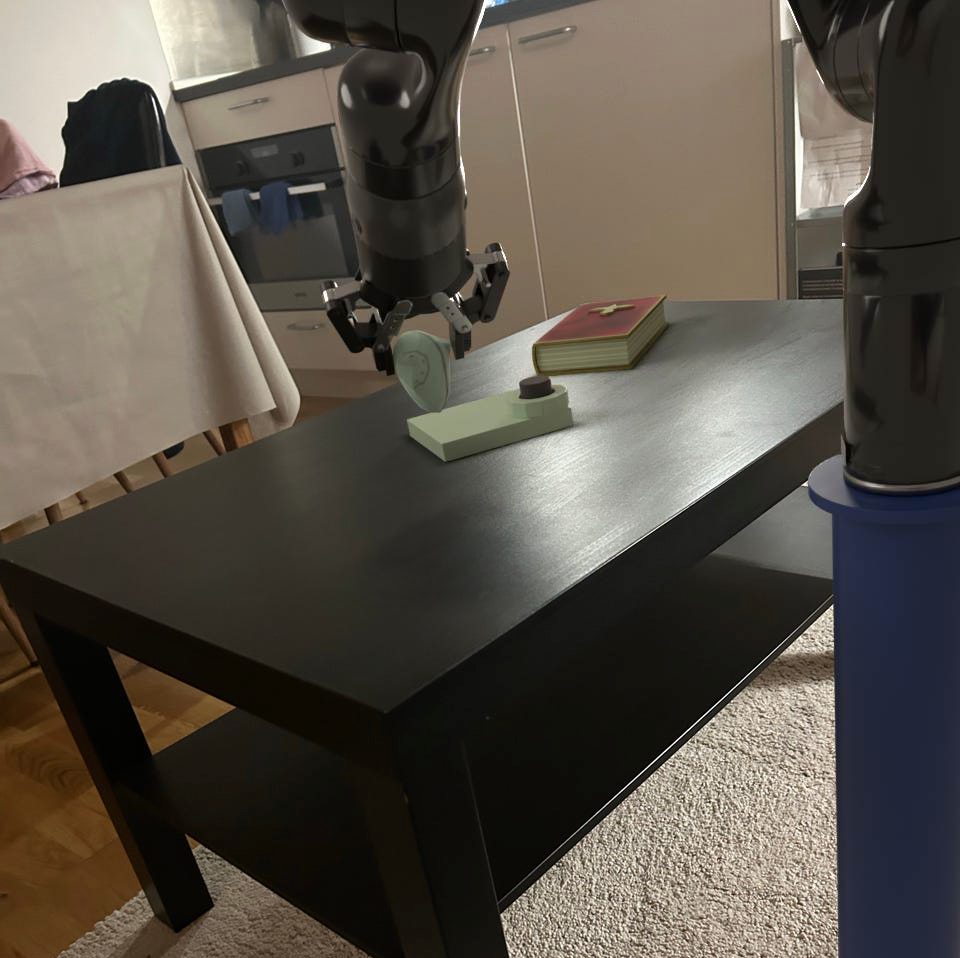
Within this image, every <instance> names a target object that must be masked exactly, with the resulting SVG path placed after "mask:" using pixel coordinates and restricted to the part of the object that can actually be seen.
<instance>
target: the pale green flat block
mask: <svg viewBox="0 0 960 958" xmlns="http://www.w3.org/2000/svg"><path fill="white" fill-rule="evenodd" d="M551 385H552V392H553V394H551V395H549V396H545V397H542V398H537V399H521V393H520V388H516V389H513V390H509V391H505V392H502V393H498V394H495V395H491V396H488V397H487V396H486V397H484V398H480V399H477V400H473V401H469V402H465V403H462V404H458V405H455V406H451V407H448V408H443V410H442V411H441V412H440V413H429V412H428V413H425V414H422V415H418V416H415V417H410V418H407V419H406V422H407V423H406V424H407V428H408V432H409V436H410V437H411V438H412V439H414V440H415V441H416V442H418V443H419V444H420V445H422V446H423V447H425V448H426V449H427V450H428V451H430V452H431V453H432V454H434V455H435V456H437V457H438V458H439V459H441V460H442V461H443V462H444V463H447V462H450V461H451V462H452V461H454V460H458V459H461V458H465V457H469V456H472V455H475V454H478V453H482V452H486V451H489V450H493V449H496V448H499V447H503V446H508V445H510V444H514V443H517V442H520V441H524V440H527V439H531V438H534V437H538V436H541V435H544V434H548V433H551V432H555V431H559V430H562V429H565V428H569V427H573V426H574V421H573V420H574V419H573V412H572V407H571V406H569V404H570V397H569V392H568V391H569V390H568V388H567V386H564V385H562V384H551Z"/></svg>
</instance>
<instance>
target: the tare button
mask: <svg viewBox="0 0 960 958" xmlns="http://www.w3.org/2000/svg"><path fill="white" fill-rule="evenodd" d="M552 385H553V384H552V379H551V376H550V375H548V376H538V375H534V376H529V377H525V378H523V379H521V380H520V381H519V382H518V386H519V389H520V393H521V399H537V398H542V397H545V396H549V395H551V394H553V392H552Z"/></svg>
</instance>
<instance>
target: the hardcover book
mask: <svg viewBox="0 0 960 958" xmlns="http://www.w3.org/2000/svg"><path fill="white" fill-rule="evenodd" d="M666 299H667V294H658V295H649V296H648V295H647V296H640V297H632V298H622V299H612V300H605V301H604V300H601V301H594V302H586V303H581V304H579V305H578V306H577V307H576V308H575V309H573V310H572V311H571V312H570V313H569V314H567V315H566V316H565V317H564V318H563V319H561V320H560V321H559V322H558V323H556V324H555V325H554V326H553V327H552V328H551V329H550V330H547V332H545V334H543V335H542V336H540V338H538V339H537V340H536V341H535V342H533V344H532V347H531V358H532V360H531V361H532V365H533V368H534V372H535V374H536V376H559V375H561V376H562V375H571V374H583V373H584V374H585V373H595V372H607V371H608V372H609V371H620V370H621V371H622V370H631V369H633V368H634V367H635V365H636V364H637V363H638V362H639V361H640V360H641V359H642V357H643V356H644V355H645V353H647V352H648V350H649V349H650V348H651V347H652V346H653V344H654V343H655V342H656V341H657V339H658V338H659V337H660V336H661V335H662V334H663V332H664V331H665V330H666V329H667V328H668V327H669V325H670V323H669V321H666V318H665V307H664V301H665V300H666Z"/></svg>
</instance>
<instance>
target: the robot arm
mask: <svg viewBox="0 0 960 958" xmlns="http://www.w3.org/2000/svg"><path fill="white" fill-rule="evenodd" d="M281 1H282V3H283V7H284V9H285V11H286V13H287V15H288V17H289V18H290V20H291V22H292V23H293V24H294V26H295V27H296V28H297V29H298V30H299V31H300V32H301V33H302V34H303V35H305V36H306V37H308V38H309V39H311V40H315V41H317V42H319V43H320V42H321V43H323V44H324V43H325V44H331V45H335V46H342V47H343V46H344V47H351V48H360V50H358V51H357V52H355V54H353V55H352V56H351V57H350V58H349V59H347V61H346V62H345V64H344V65H343V67H342V69H341V71H340V74H339V76H338V79H337V85H336V107H337V108H336V109H337V115H338V121H339V127H340V132H341V139H342V145H343V151H344V156H345V157H344V158H345V164H346V169H345V170H346V172H345V174H346V176H345V179H346V180H345V181H346V193H347V200H348V206H349V212H350V221H351V223H352V229H353V234H354V240H355V247H356V253H357V258H358V264H359V266H358V268H357V271H356V273H355V275H354V280H352V281H350V282H347V283H344V284H341V285H337V283H336V282H335V281H334V280H331V279H330V280H325V281H322V282H321V284H320V285H319V291H320V294H321V298H322V302H323V306H324V310H325V313H326V317H327V318H328V319H329V321H330V323H331V324H332V326H333V328H334V329H335V331H336V332H337V334H338V336H339V337H340V339H341V340H342V342H343V344H344V345H345V346H346V349H348V351H349V352H350V353H351V354H360V353H362V352H363V351H364V350H365V348H366V349H371V354H372V358H373V363H374V365H375V369H376V370H377V371H378V372H380V373H382V372H385V375H386V377H391V376H394V375H396V372H395V370H394V362H393V348H392V345H391V342H392V340H393V338H394V337H397V336H398V335H399V333H400V330H401V328H402V327H403V324H404V321H406V320H410V319H412V318H413V319H414V318H415V317H418V316H421V315H433V314H435V313H441V315H442V316H443V318H444V319H445V320H446V321H447V323H448V337H449V340H450V343H451V351H452V353H453V355H454V356H453V357H454V359H455V361H457V360H462V359H465V353H466V352H469V351H470V350H471V348H472V330H473V328H474V326H473V325H475V324H476V323H478V322H480V323H481V324H488V323H491V322H493V321H494V320H495V318H496V316H497V313H498V310H499V307H500V304H501V301H502V299H503V295H504V294H505V293H504V292H505V290H506V287H507V284H508V281H509V278H510V275H511V271H510V268H509V266H508V262H507V259H506V256H505V254H504V249H503V247H502V245H501V243H499V242H492V243H490V244H488V245H487V246H486V247H485V249H484V252H482V253H470V251H469V249H468V248H467V247H468V246H467V244H468V243H467V242H468V241H467V207H468V192H467V189H466V176H465V175H466V174H465V168H464V164H463V160H462V159H463V158H462V153H461V151H462V150H461V147H462V146H461V114H460V113H461V108H460V107H461V96H462V95H461V94H462V87H463V80H464V75H465V71H466V68H467V63H468V60H469V56H470V53H471V51H472V47H473V45H474V42H475V38H476V37H477V34H478V31H479V28H480V24H481V22H482V19H483V16H484V13H485V9H486V6H487V2H488V0H281ZM786 2H787V5H788V7H789V9H790V12H791V14H792V16H793V19H794V21H795V23H796V25H797V28H798V30H799V33H800V34H801V37H802V39H803V41H804V44H805V46H806V49H807V52H808V53H809V56H810V58H811V60H812V62H813V65H814V67H815V69H816V72H817V74H818V76H819V78H820V80H821V82H822V84H823V86H824V89H826V91H827V93H828V95H829V96H830V98H831V99H832V101H833V102H834V103H835V104H836V105H837V106H838V107H839V108H840V109H841V110H842V111H843V112H844V113H846V114H847V115H848V116H850V117H852V118H854V119H856V120H857V121H860V122H862V123H866V124H871V125H872V135H871V136H872V137H871V151H870V162H869V169H868V172H867V174H866V178H865V180H864V182H863V184H861V187H860V188H858V189H857V190H856V191H855V192H854V193H852V194H851V195H850V196H849V197H848V198H847V200H846V201H845V203H844V205H843V209H842V213H841V214H842V217H841V242H842V243H841V244H842V248H841V249H842V322H843V323H842V339H843V340H842V343H843V344H842V345H843V346H842V347H843V348H842V350H843V353H842V354H843V355H842V356H843V360H842V361H843V434H840V454H842V456H843V459H844V464H843V480H844V482H845V483H846V484H847V485H849V486H850V487H852V488H854V489H856V490H858V491H861V492H865V493H869V494H874V495H881V496H892V497H912V496H925V495H932V494H938V493H943V492H947V491H951V490H954V489H957V488H960V0H786ZM473 274H475V275H476V279H475V282H474V286H473V289H472V292H471V297H468V298H466V299H465V298H464V297H463V295H462V294H461V293H460V291H461V290H462V289H463V288H464V286H465V285H467V283H468V282H469V281H470V279H471V278H472V277H473ZM360 299H361V301H363V302H364V303H366V304H368V305H369V306H371V308H370V311H369V313H368V316H367V319H366V321H363V322H361V321H360V322H359V321H358V318H357V316H356V315H355V313H354V312H355V311H356V309H357V305H356V303H357V302H358V301H359V300H360ZM842 435H843V436H842Z"/></svg>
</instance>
